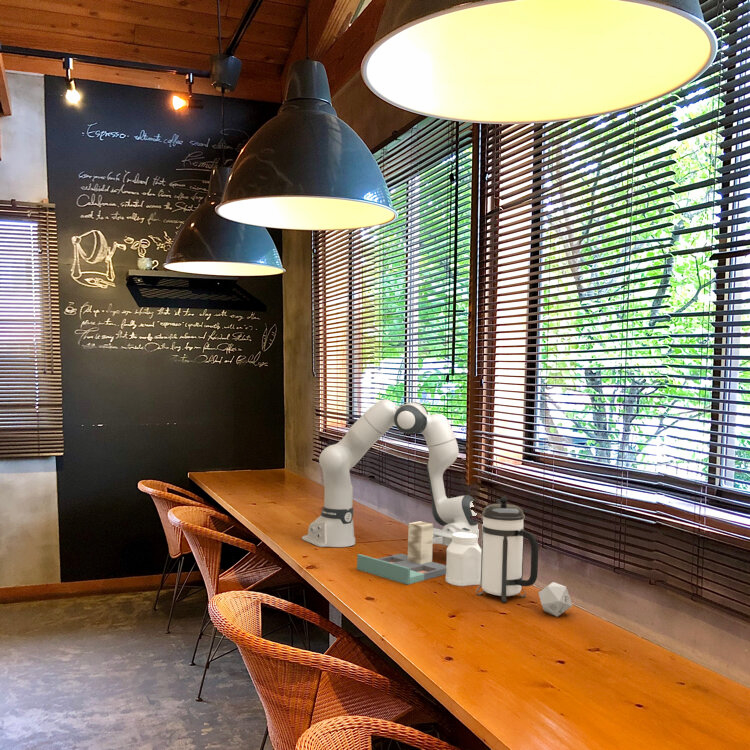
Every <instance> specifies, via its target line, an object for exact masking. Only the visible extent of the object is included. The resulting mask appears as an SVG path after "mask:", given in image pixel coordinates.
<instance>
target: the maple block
mask: <svg viewBox="0 0 750 750" xmlns="http://www.w3.org/2000/svg"><path fill="white" fill-rule="evenodd" d="M433 528H434V523H429V522H425V521H421V520H420V521H413V522H409V523H408V534H407V535H408V537H407V555H408V561H410V562H413V563H417V564H425V563H429V562H433V545H434V544H433Z"/></svg>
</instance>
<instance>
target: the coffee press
mask: <svg viewBox="0 0 750 750" xmlns="http://www.w3.org/2000/svg"><path fill="white" fill-rule="evenodd" d="M499 501H500V502H499V503H492V504H489V505H486V507H484V508H483V509H484V510H483V511H482V512H481V515H482V521H483V524H482V539H481V546H480V548H481V578H480V585H478V586H479V587H477V589H476V590H475V592H476V595H477V596H481V595H483V593H487V594H491V595H494V596H499V597H500V601H501V604H503V603H504V604H505V603H507V597H511V596H515V595H517V594H518V595H519V596H521V598H526V596H527V594H526V592H525V590H524V589H523V587H530V586H532V585H534V584H535V583H536V581H537V579H538V570H539V569H538V568H539V544H538V542H537V538H536V537H535V535H534V534H532V533H531V532H529V531H527V530H525V527H524V520H525V519H526V515H525V514H524V511H523V509H522V508H520V506H517V505H514V504H509V503H507V502H508V501H509V499H508V498H507V497H506V496H501V497H500V499H499ZM524 538H526V539H527V540H528V541H529V543H530V549H531V550H530V551H531V552H530V576H529V578H528V579H527V580H526V579H523V577H524V574H523V573H524V546H525V545H524V544H525V543H524V541H525V539H524ZM481 588H482V590H481V592H479V590H480V589H481ZM521 590H522V591H523V593H524V595H523V594H521ZM478 592H479V593H478Z"/></svg>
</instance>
